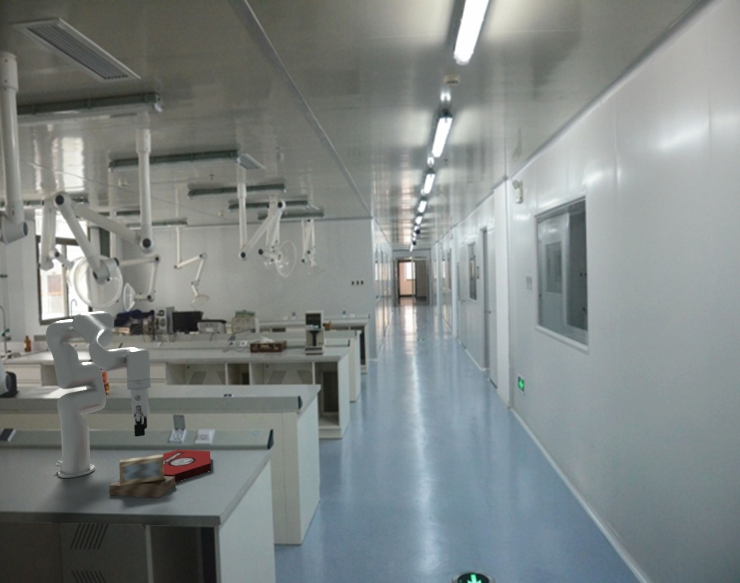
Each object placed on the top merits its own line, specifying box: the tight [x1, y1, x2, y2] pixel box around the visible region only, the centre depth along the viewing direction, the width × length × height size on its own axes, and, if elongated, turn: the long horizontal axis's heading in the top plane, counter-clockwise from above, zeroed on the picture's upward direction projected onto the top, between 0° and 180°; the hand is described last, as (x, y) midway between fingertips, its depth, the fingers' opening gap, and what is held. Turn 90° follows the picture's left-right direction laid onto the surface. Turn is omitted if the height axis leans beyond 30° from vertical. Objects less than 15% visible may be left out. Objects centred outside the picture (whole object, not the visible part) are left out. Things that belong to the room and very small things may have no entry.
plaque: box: [160, 449, 212, 483], centre depth 203 cm, size 27×4×30 cm
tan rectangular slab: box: [119, 454, 164, 485], centre depth 182 cm, size 14×3×8 cm, turn 109°
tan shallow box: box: [108, 476, 176, 499], centre depth 182 cm, size 19×10×4 cm, turn 79°
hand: (141, 432), depth 182 cm, fingers open, 9 cm apart
